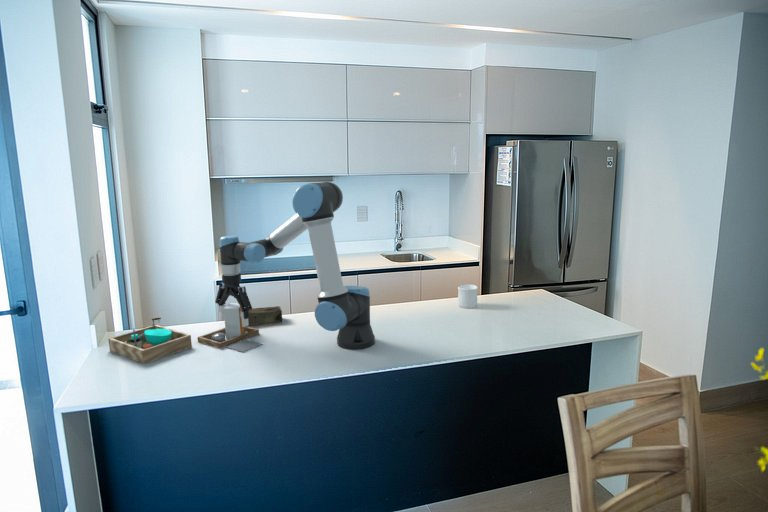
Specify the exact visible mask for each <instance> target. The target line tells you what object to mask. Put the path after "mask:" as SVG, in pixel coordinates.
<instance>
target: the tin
mask: <svg viewBox="0 0 768 512" xmlns="http://www.w3.org/2000/svg"><path fill="white" fill-rule="evenodd" d="M211 340H213V341H217V342H223V341H226V340H227V339H226V333H215V334H213V335H212V338H211Z"/></svg>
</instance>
